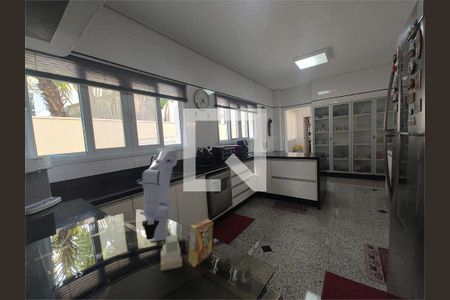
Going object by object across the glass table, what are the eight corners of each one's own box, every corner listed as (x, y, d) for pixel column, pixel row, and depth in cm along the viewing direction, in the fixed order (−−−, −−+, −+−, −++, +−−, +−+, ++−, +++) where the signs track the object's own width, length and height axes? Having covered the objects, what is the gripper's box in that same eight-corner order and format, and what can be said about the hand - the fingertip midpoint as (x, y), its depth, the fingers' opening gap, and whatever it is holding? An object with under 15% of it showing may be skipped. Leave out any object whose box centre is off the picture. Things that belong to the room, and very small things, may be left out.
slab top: (162, 251, 69) (162, 244, 69) (177, 249, 71) (178, 242, 71) (162, 262, 63) (163, 254, 63) (179, 259, 66) (179, 251, 65)
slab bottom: (160, 257, 70) (160, 250, 69) (179, 254, 72) (179, 247, 72) (161, 271, 63) (161, 264, 62) (181, 267, 66) (182, 260, 65)
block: (165, 246, 68) (165, 236, 67) (175, 244, 70) (176, 235, 69) (166, 253, 64) (167, 242, 64) (177, 250, 66) (177, 240, 66)
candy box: (204, 251, 74) (207, 218, 73) (211, 257, 72) (213, 222, 70) (187, 261, 68) (189, 225, 67) (194, 268, 65) (196, 229, 64)
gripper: (141, 194, 72) (140, 225, 73) (138, 208, 58) (137, 246, 59) (159, 193, 75) (158, 223, 75) (160, 206, 61) (158, 242, 62)
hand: (150, 233), depth 68 cm, fingers open, 7 cm apart
